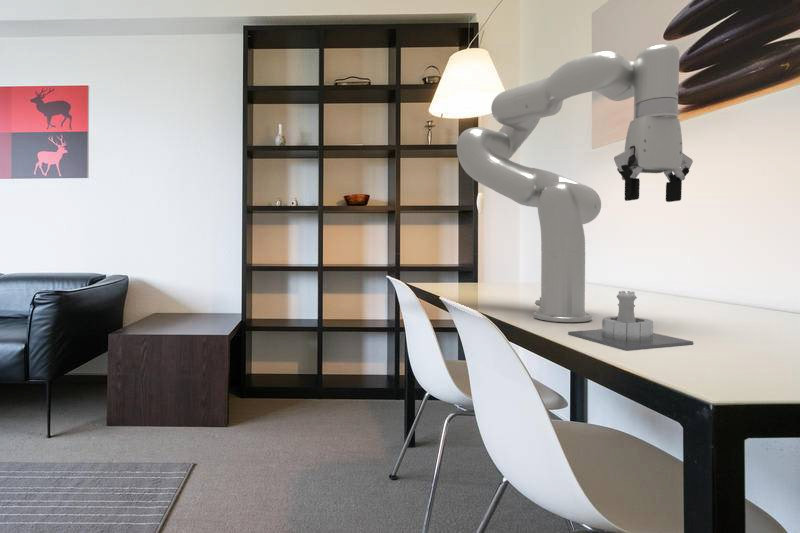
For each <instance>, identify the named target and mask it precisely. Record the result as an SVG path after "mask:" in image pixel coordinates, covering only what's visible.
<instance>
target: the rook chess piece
mask: <svg viewBox="0 0 800 533" xmlns="http://www.w3.org/2000/svg"><path fill="white" fill-rule="evenodd" d="M616 298H617V300H618V304H617V306H618V313H617V316H618V318H617V321H622V322H636V321H635V317H636V316H635V311H634V310H635V307H636V305H635V301H636V299H637V298H638V297H637V296H636V293H635V291H630V290H628V291H625V290H619V291H618V294H617V295H616Z"/></svg>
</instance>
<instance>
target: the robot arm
mask: <svg viewBox="0 0 800 533" xmlns="http://www.w3.org/2000/svg"><path fill="white" fill-rule="evenodd" d="M679 80H680V50H679V48H678V46H676V45H674V44H670V43H668V44H667V43H664V44H663V43H661V44H656V45H653V46H649V47H647V48H645V49H643V50H641V51H640V52H639V53H638V54H637V55H636V57H635V61H633V60H628V59H626V58H625V57H624V56H623V55H621V54H620V53H618V52H616V51H611V50H602V51H597V52H593V53H589V54H587V55H586V54H585V55H583V56H580V57H577V58H574V59H572V60H570V61H567V62H566V63H564V64H562V65H561V66H560V67H558V68H557V69H556V70H554V72H552V73H551V74H550V76H548V77H546V78H545V77H544V78H542V79H539V80H536V81H533V82H530V83H527V84H523V85H519V86H516V87H513V88H509V89H507V90H505V91H501V92H500V93H498V94H497V95H496V96H495V97H494V99H493V100H492V103H491V107H490V108H491V114H492V117H493V118H494V120H496V122H497V123H499V124H501V125H502V126H501V128H500V129H499V130H498V131H496V130H493V129H489V128H485V127H480V126H479V127H477V126H475V127H470V128H466V129H465V130H464V131H462V132H461V133H460V135H459V137H458V138H457V142H456V154H457V158H458V162H459V163H460V166H461V167H462V169H463V170H464V172H465V173H466V174H467V175H468V176H469V177H470V178H472V180H474V181H476V182H478V183H479V184H481V185H482V186H485V187H487V188H488V189H491V190H493V191H495V192H496V193H498V194H499V195H502V196H503V197H506V198H508V199H510V200H512V201H514V202H515V203H517V204H519V205H520V206H526V207H531V208H537V215H538V220H539V227H540V240H541V242H540V244H541V246H540V251H541V253H540V254H541V256H540V258H541V260H540V261H541V264H540V269H541V274H540V275H541V276H540V277H541V278H540V287H541V288H540V292H541V293H540V296H539V299H536V300H535V301H534V304H535V306H539V310H537V311H534V313H533V315H534V316H533V317H534V318H535V319H538V320H541V321H547V322H553V323H554V322H557V323H585V322H590V321H592V320H593V315H592V314H591V313H589V312H586V311H585V310H586V309H585V308H586V307H585V306H586V305H585V304H586V300H585V299H586V298H585V297H586V283H585V282H586V236H585V230H584V225H587V224H589V223H591V222H592V221H594V220H595V219H596V218H598V216H599V214H600V212H601V210H602V209H601V208H602V200H601V197H600V195H599V194H598V192H597V191H596V190H595V189H594V188H592V187H590V186H588V185H585V184H583V183H580V182H577V181H575V180H572V179H571V178H567V177H565V176H563V175H560V174H557V173H556V172H552V171H548V170H544V169H539V168H535V167H528V166H525V165H522V164H520V163H517V162H515V161H512V160H510V159H511V158H512V157H513V156H514V154H516V152H517V151H518V150H519V148H520V147H521V146H522V145H523V144H524V142H526V140H527V139H528V138H529V136H531V134H532V133H533V131H534V130H535V129H536V127H537V126H538V124H539V123H540V121H541V119H542V118H543V119H544V118H546V117H552V116H555V115H557V114H558V113H560V111H561V109H562V107H563V103H564V100H567V99H569V98H571V97H575V96H577V95H578V96H579V95H582V94H585V93H586V94H587V93H590V92H596V93H598V94H600V95H601V96H603V97H605V98H606V99H608V100H611V101H614V102H621V101H626V100H628V99H631V98H632V97H633V120H631V121H630V122H629V125H628V128H627V132H626V137H625V144H624V151H622V152H621V153H619V154H617V155H615V156H614V157H613V161H614V163H615V166H616V167H617V170H616V171H617V172H618V173H619V174H620V176H621V180H622V181H624V201H625V202H628V201H635V200H638V199H640V183H641V182H640V178H638V176H639V175H640V174H641V173H642V174H664V176H665V177H666V179H667V180H668V181H667V182H665V183H666V184H665V201H666V202H667V203H671V202H678V201H679V202H680V201H681V200H682V189H683V188H682V187H683V186H682V184H683V183H682V182H683V181H684V180H685V179H686V176H687V175H688V174H689V172H690V168H691V167H692V164H693V162H694V161H693V159H692V158H691V157H690V156H688V155H686V154H685V153H684V152H683V138H682V134H683V133H682V126H681V122H680V119H679V115H680V114H681V111H680V109H679Z"/></svg>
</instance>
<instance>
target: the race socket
mask: <svg viewBox="0 0 800 533" xmlns="http://www.w3.org/2000/svg"><path fill="white" fill-rule="evenodd" d="M617 318H618V315H614V316H613V315H611V316H604V317H602V320H601V326H602V327H601V328H599V329H588V330H587V329H586V330H576V331H575V330H574V331H571V330H570V331H568V332H567V335H570V336H573V337H577V338H579V339H580V338H581V339H583V340H586V341H587V340H588V341H590V342H594V343H597V344H602V345H606V346H609V347H612V348H616V349H619V350H623V351H636V350H648V349H657V348H667V347H670V348H671V347H678V346H679V347H680V346H689V345H690V346H691V345H694V341H692V340H687V339H684V338H678V337H673V336H670V335H664V334H660V333H656V332H654V321H653V320H651V319H650V318H643V317H638V316H637V317H636V316H635V321H636V322H622V321H617Z"/></svg>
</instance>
